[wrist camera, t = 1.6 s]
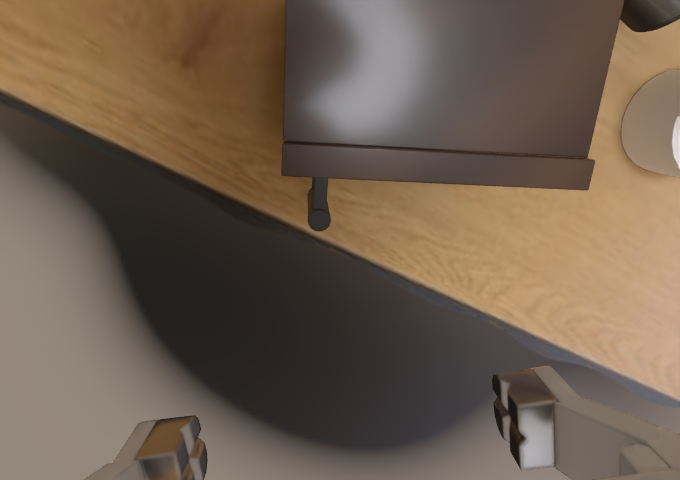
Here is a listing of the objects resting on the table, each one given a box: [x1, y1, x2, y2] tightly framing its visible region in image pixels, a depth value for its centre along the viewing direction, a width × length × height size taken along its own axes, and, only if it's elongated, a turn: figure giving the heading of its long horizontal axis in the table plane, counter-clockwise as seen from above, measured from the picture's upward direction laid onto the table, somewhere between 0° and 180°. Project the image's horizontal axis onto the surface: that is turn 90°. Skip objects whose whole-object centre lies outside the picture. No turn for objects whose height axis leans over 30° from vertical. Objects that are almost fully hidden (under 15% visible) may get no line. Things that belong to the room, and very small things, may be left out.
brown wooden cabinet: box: [282, 0, 624, 190], centre depth 31 cm, size 18×12×15 cm, turn 87°
